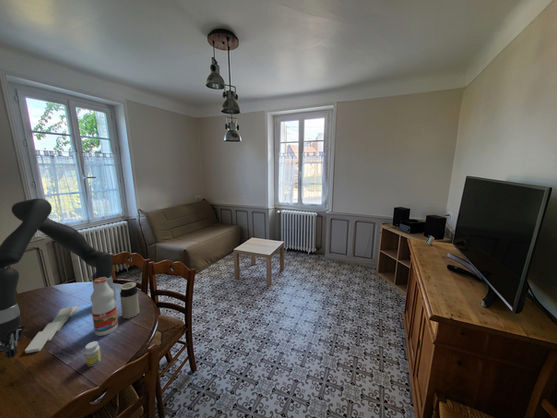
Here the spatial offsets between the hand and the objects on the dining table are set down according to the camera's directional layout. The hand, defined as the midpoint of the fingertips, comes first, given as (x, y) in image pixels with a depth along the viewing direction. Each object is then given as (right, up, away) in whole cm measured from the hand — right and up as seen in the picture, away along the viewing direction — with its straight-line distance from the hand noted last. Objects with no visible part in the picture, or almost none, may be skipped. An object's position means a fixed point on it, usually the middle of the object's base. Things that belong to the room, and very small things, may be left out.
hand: (12, 356), depth 86 cm
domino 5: (-10, -1, +32) cm, 34 cm away
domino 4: (-6, -2, +21) cm, 22 cm away
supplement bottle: (+28, -6, +5) cm, 30 cm away
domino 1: (-3, -4, +9) cm, 10 cm away
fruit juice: (+19, -3, +24) cm, 31 cm away
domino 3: (-9, -1, +28) cm, 29 cm away
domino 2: (-4, -3, +15) cm, 16 cm away
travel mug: (+23, -1, +36) cm, 43 cm away
